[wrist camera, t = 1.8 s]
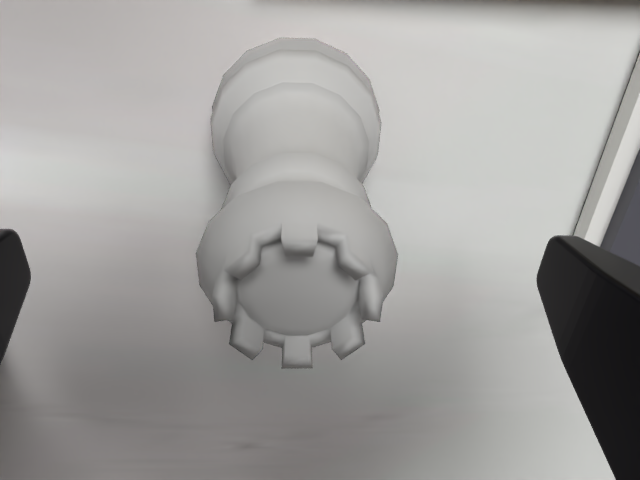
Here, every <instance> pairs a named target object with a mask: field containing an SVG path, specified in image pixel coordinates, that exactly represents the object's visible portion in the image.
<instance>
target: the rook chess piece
mask: <svg viewBox="0 0 640 480" xmlns="http://www.w3.org/2000/svg"><path fill="white" fill-rule="evenodd" d="M212 109H213V113H212V116H211V131H212V143H213V152H214V154H215V157H216V159H217V160H218V162H219V164H220V166H221V168H222V170H223V172H224V174H225V176H226V178H227V179H228V181H229V183H230V184H231V186H230V189H229V191H228V193H227V196H226V198H225V201H224V203H223V206H222V208H221V211H220V212H219V213H217V214H216V215H215V216H214V217H213V218H212V219H211V220H210V221H209V222H208V224H207V227H206V229H205V232H204V234H203V237H202V239H201V242H200V244H199V247H198V249H197V252H196V258H197V267H198V276H199V285H200V287H201V288H202V290H203V291H204V293H205V295H206V296H207V298H208V299H209V301H210V302H211V304H212V305H213V310H214V320H215V322H218V321H224V320H228V321H229V322H230V323H232V328H231V335H230V342H229V344H230V345H231V346H233V347H234V348H236V349H237V350H239V351H240V352H241V353H243V354H244V355H246V356H247V357H249V358H250V359H252V360H253V359H254V358H255V357H256V356H257V355H258V354H259V353H260V351H261V350H262V349H263V342H264V343H268V344H271V345H274V346H278V347H281V348H282V368H312V347H316V346H319V345H322V344H326V343H329V342H331V343H332V350H333V351H334V352H335V353H336V354H337V355H338V357H339V358H340V359H341V360H342V359H343V358H345V357H346V356H348V355H349V354H351V353H352V352H354V351H355V350H357V349H358V348H360V347H361V346H362V345H364V344H365V341H364V335H363V329H362V323H363V322H365V321H366V320H370V321H377V322H380V317H381V309H382V303H383V301H384V300H385V298H386V297H387V295H388V294H389V292H390V291H391V289H392V288H393V286H394V279H395V272H396V266H397V259H398V253H397V250H396V247H395V245H394V242H393V239H392V236H391V233H390V230H389V228H388V225H387V223H386V222H385V221H384V220H383V219H382V218H381V217H380V216H379V215H378V214H377V213H376V212H375V211H374V210H373V209H372V208H371V205H370V202H369V199H368V197H367V194H366V191H365V188H364V186H363V185H362V183H363V182H364V180H365V178H366V176H367V174H368V173H369V171H370V169H371V167H372V165H373V164H374V162H375V160H376V158H377V155H378V149H379V139H380V130H381V120H380V117H379V107H378V104H377V101H376V98H375V95H374V92H373V88H372V85H371V82H370V79H369V78H368V77H367V76H366V75H365V73H364V72H363V71H362V70H361V69H360V68H359V67H358V65H357V64H356V63H355V62H354V61H353V60H352V59H351V57H350V56H349V55H348V54H347V53H345V52H343V51H340V50H338V49H336V48H334V47H332V46H330V45H328V44H326V43H323V42H321V41H319V40H317V39H308V38H277V39H275V40H273V41H270V42H268V43H265V44H263V45H260V46H258V47H255V48H253V49H250V50H248V51H246V52H245V53H244V54H243V55H242V56H241V57H240V59H239V60H238V61H237V62H236V63H235V64H234V65H233V66H232V67H231V68H230V69H229V70H228V71H227V72H226V73H225V74H224V75H223V78H222V80H221V83H220V86H219V89H218V92H217V94H216V97H215V100H214V103H213V106H212Z"/></svg>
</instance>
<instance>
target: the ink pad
mask: <svg viewBox="0 0 640 480" xmlns="http://www.w3.org/2000/svg"><path fill="white" fill-rule="evenodd" d="M573 236H578V237H580V238H582V239H584V240H587V241H589V242H591V243H593V244H595V245H597V246H599V247H601V248H603V249H605V250H607V251H609V252H611V253H613V254H615V255H617V256H619V257H622V258H624V259H626V260H628V261H630V262H632V263H634V264H636V265H638V266H640V53H639V56H638V59H637V62H636V64H635V67H634V70H633V73H632V75H631V78H630V81H629V84H628V86H627V89H626V92H625V95H624V97H623V100H622V103H621V106H620V108H619V111H618V114H617V117H616V119H615V122H614V125H613V128H612V130H611V133H610V136H609V139H608V141H607V144H606V147H605V150H604V152H603V155H602V158H601V160H600V163H599V166H598V169H597V171H596V174H595V177H594V180H593V182H592V185H591V188H590V191H589V193H588V196H587V199H586V202H585V204H584V207H583V210H582V213H581V215H580V218H579V221H578V224H577V226H576V229H575V232H574V235H573Z"/></svg>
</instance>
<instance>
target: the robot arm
mask: <svg viewBox="0 0 640 480" xmlns="http://www.w3.org/2000/svg"><path fill="white" fill-rule="evenodd" d="M30 280H31V273H30V268H29V265H28V261H27V258H26V255H25V252H24V249H23V246H22V243H21V240H20V237H19V235H18V234H17V232H15V231H14V230H12V229H0V364H1V362H2V359H3V357H4V354H5V352H6V349H7V347H8V344H9V341H10V338H11V335H12V333H13V330H14V327H15V324H16V321H17V319H18V316H19V313H20V310H21V307H22V305H23V302H24V299H25V296H26V293H27V291H28V288H29V285H30ZM537 287H538V290H539V293H540V297H541V300H542V303H543V306H544V309H545V312H546V315H547V318H548V321H549V324H550V327H551V330H552V334H553V337H554V340H555V343H556V346H557V349H558V352H559V354H560V357H561V360H562V362H563V364H564V367H565V369H566V371H567V374H568V376H569V378H570V380H571V382H572V385H573V387H574V389H575V391H576V393H577V396H578V398H579V400H580V402H581V404H582V407H583V409H584V411H585V413H586V415H587V417H588V420H589V422H590V424H591V426H592V428H593V431H594V433H595V435H596V437H597V439H598V442H599V444H600V446H601V448H602V450H603V452H604V455H605V457H606V459H607V461H608V463H609V466H610V468H611V470H612V472H613V474H614V477H615V479H616V480H640V266H638V265H636V264H634V263H632V262H630V261H628V260H626V259H624V258H622V257H619V256H617V255H615V254H613V253H611V252H609V251H607V250H605V249H603V248H601V247H599V246H597V245H595V244H593V243H591V242H589V241H587V240H584V239H582V238H580V237H578V236H562V235H558V236H554V237H552V238H551V239H550V240H549V241H548V244H547V246H546V249H545V252H544V255H543V258H542V261H541V264H540V267H539V270H538V274H537Z"/></svg>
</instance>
